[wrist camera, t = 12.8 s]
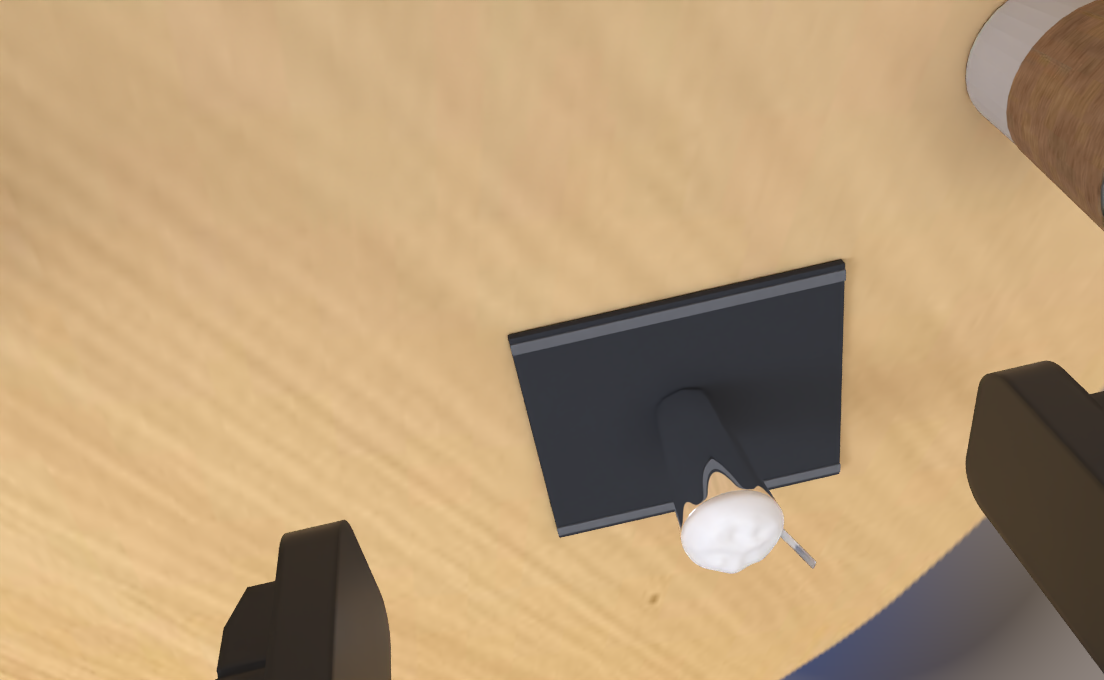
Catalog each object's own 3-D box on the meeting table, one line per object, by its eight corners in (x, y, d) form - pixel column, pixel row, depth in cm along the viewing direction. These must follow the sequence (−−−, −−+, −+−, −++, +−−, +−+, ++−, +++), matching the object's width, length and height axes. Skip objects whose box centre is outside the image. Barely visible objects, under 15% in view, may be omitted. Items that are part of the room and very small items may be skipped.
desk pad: (558, 532, 49) (559, 539, 49) (507, 334, 41) (508, 340, 41) (836, 469, 49) (840, 475, 49) (841, 259, 41) (846, 264, 41)
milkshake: (729, 447, 47) (798, 600, 39) (632, 445, 46) (682, 602, 38) (753, 379, 44) (832, 528, 36) (651, 375, 43) (709, 528, 35)
